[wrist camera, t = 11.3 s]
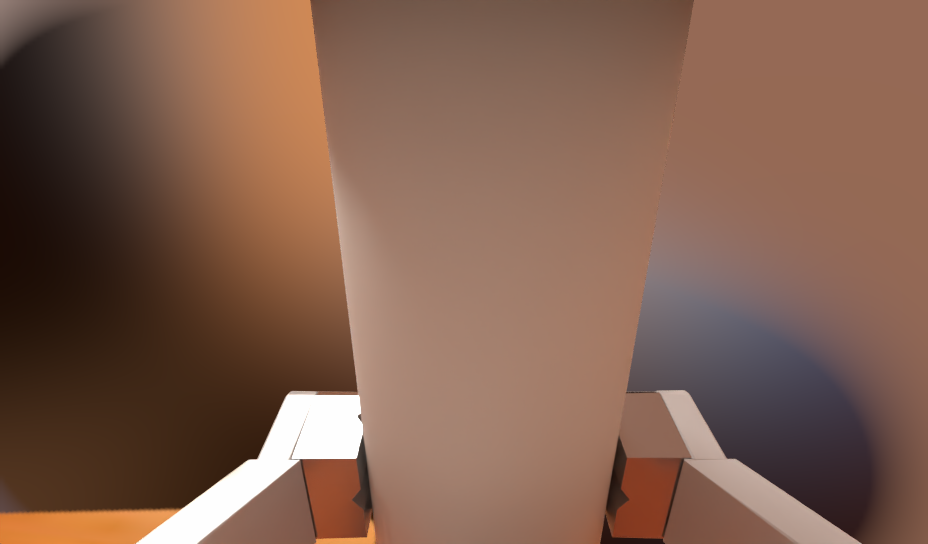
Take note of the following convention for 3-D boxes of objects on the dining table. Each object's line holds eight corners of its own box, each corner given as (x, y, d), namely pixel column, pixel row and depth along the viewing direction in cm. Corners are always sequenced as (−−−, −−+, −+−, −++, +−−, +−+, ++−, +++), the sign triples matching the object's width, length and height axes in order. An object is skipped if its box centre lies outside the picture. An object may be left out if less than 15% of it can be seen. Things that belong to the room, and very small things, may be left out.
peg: (320, 922, 10) (-175, -346, 2) (372, 592, 16) (278, -103, 8) (653, 924, 10) (1277, -359, 2) (585, 592, 16) (700, -104, 8)
